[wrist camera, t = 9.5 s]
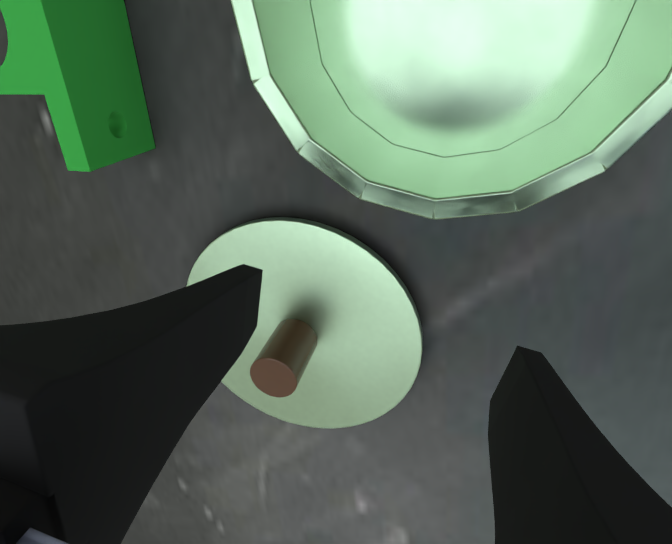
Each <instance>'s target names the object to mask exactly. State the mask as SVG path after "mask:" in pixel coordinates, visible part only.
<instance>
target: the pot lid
mask: <svg viewBox="0 0 672 544" xmlns="http://www.w3.org/2000/svg"><path fill="white" fill-rule="evenodd" d="M242 264H245V265H248V266H252V267H255V268H259V269H262V270H263V273H262V283H261V293H260V302H259V312H258V322H257V327H256V329H255V331H254V333H253V335H252V336H251V338H250V340H249V342H248V344H247V345H246V347H245V349H244V351H243V352H242V354H241V355H240V357H239V358H238V359H237V361H236V362H235V363H234V365H233V366H232V367H231V369H230V370H229V371H228V373H227V374H226V375H225V377H224V378H223V379H222V380H221V382H222V383H223V384H224V385H225V386H226V387H228V388H229V389H230V390H231V391H232V392H233V393H234V394H236V395H237V396H238V397H240V398H241V399H242V400H244V401H245V402H247V403H248V404H250V405H252V406H253V407H255V408H256V409H258V410H260V411H262V412H264V413H266V414H268V415H271V416H273V417H276V418H278V419H280V420H283V421H287V422H290V423H293V424H297V425H302V426H307V427H315V428H344V427H351V426H355V425H360V424H363V423H366V422H369V421H372V420H374V419H376V418H378V417H380V416H382V415H384V414H385V413H387V412H388V411H390V410H391V409H392V408H394V407H395V406H396V405H397V404H398V403H399V402H400V401H401V400H402V399H403V398H404V397H405V396H406V394H407V393H408V392H409V390H410V389H411V387H412V385H413V383H414V381H415V379H416V377H417V375H418V371H419V368H420V364H421V359H422V350H423V334H422V327H421V322H420V317H419V314H418V311H417V308H416V306H415V303H414V301H413V299H412V297H411V295H410V293H409V291H408V289H407V288H406V286H405V284H404V283H403V282H402V280H401V279H400V278H399V276H398V275H397V273H396V272H395V271H394V270H393V269H392V268H391V267H390V266H389V265H388V264H387V262H386V261H385V260H384V259H383V258H382V257H380V256H379V255H378V254H377V253H376V252H374V251H373V250H372V249H371V248H370V247H368V246H367V245H365V244H364V243H362V242H360V241H359V240H357V239H356V238H354V237H353V236H351V235H349V234H346V233H344V232H342V231H340V230H338V229H336V228H333V227H331V226H328V225H325V224H322V223H319V222H315V221H310V220H306V219H300V218H289V217H273V218H263V219H258V220H252V221H249V222H246V223H243V224H240V225H237V226H236V227H234V228H232V229H230V230H228V231H226V232H224V233H223V234H222V235H220V236H219V237H218V238H216V239H215V240H214V241H213V242H211V243H210V244H209V245H208V246H207V247H206V248H205V250H204V251H203V252H202V253H201V254H200V256H199V257H198V259H197V260H196V262H195V263H194V265H193V268H192V270H191V272H190V275H189V278H188V282H187V286H189V285H192V284H194V283H197V282H199V281H202V280H204V279H207V278H209V277H212V276H214V275H216V274H219V273H221V272H224V271H226V270H228V269H231V268H233V267H236V266H239V265H242ZM187 286H186V287H187Z"/></svg>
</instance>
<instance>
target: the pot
mask: <svg viewBox="0 0 672 544" xmlns="http://www.w3.org/2000/svg"><path fill="white" fill-rule="evenodd" d="M230 1H231V5H232V9H233V13H234V17H235V21H236V25H237V29H238V32H239V36H240V40H241V44H242V48H243V52H244V56H245V60H246V64H247V68H248V71H249V75H250V79H251V81H252V82H253V86H254V88H255V89H256V91H257V92H258V94H259V95H260V97H261V98H262V100H263V101H264V103H265V105H266V106H267V108H268V109H269V111H270V112H271V114H272V115H273V117H274V118H275V120H276V121H277V123H278V125H279V126H280V128H281V129H282V131H283V132H284V134H285V135H286V137H287V138H288V140H289V141H290V143H291V145H292V146H293V148H294V149H295V151H296V152H298V154H299V155H300V156H301V157H303V158H304V159H305V160H307V161H308V162H309V163H311V164H312V165H313V166H315V167H316V168H317V169H319V170H320V171H321V172H323V173H324V174H325V175H327V176H328V177H329V178H331V179H332V180H334V181H335V182H336V183H338V184H339V185H340V186H342V187H343V188H344V189H346V190H347V191H348V192H350V193H351V194H352V195H354V196H355V197H356V198H358V199H359V198H360V199H361V200H363V201H367V202H370V203H374V204H378V205H381V206H385V207H389V208H392V209H396V210H399V211H403V212H407V213H410V214H414V215H417V216H421V217H425V218H428V219H433V218H434V219H435V220H439V219H449V218H460V217H470V216H481V215H492V214H502V213H513V212H516V211H518V212H519V211H521V210H523V209H526V208H528V207H530V206H532V205H534V204H536V203H539V202H541V201H543V200H545V199H547V198H549V197H552V196H554V195H556V194H558V193H560V192H562V191H565V190H567V189H569V188H571V187H573V186H575V185H578V184H580V183H582V182H584V181H586V180H588V179H591V178H593V177H595V176H597V175H599V174H601V173H604V172H605V170H607V169H609V168H610V167H611V166H612V165H613V164H614V163H615V162H616V161H617V160H618V159H619V158H620V157H622V156H623V155H624V154H625V153H626V152H627V151H628V150H629V149H630V148H631V147H632V146H633V145H635V144H636V143H637V142H638V141H639V140H640V139H641V138H642V137H643V136H644V135H645V134H646V133H647V132H649V131H650V130H651V129H652V128H653V127H654V126H655V125H656V124H657V123H658V122H659V121H660V120H661V119H663V118H664V117H665V116H666V115H667V114H668V113H669V112H670V111H671V110H672V0H230Z"/></svg>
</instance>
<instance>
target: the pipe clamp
mask: <svg viewBox="0 0 672 544" xmlns="http://www.w3.org/2000/svg"><path fill="white" fill-rule="evenodd" d="M0 9H1V12H2V14H3V17H4V20H5V24H6V28H7V34H8V50H7V55H6V58H5V61H4V63H3V64H2V66H1V67H0V94H44V95H45V98H46V101H47V105H48V108H49V111H50V114H51V117H52V121H53V124H54V127H55V130H56V133H57V137H58V140H59V143H60V146H61V149H62V153H63V156H64V159H65V162H66V165H67V169H68V171H88V172H91V171H93V170H96V169H99V168H102V167H104V166H107V165H110V164H113V163H116V162H118V161H121V160H124V159H127V158H130V157H132V156H135V155H138V154H141V153H143V152H146V151H149V150H152V149H155V143H154V138H153V134H152V129H151V124H150V120H149V115H148V110H147V106H146V101H145V96H144V92H143V87H142V82H141V78H140V73H139V68H138V64H137V59H136V54H135V50H134V45H133V40H132V36H131V31H130V26H129V22H128V17H127V12H126V8H125V3H124V0H0Z"/></svg>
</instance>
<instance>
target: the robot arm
mask: <svg viewBox="0 0 672 544" xmlns="http://www.w3.org/2000/svg"><path fill="white" fill-rule="evenodd" d="M262 273H263V270H262V269H259V268H255V267H252V266H248V265H245V264H242V265H239V266H236V267H233V268H231V269H228V270H226V271H224V272H221V273H219V274H216V275H214V276H212V277H209V278H207V279H204V280H202V281H199V282H197V283H194V284H192V285H189V286H187V287H184V288H181V289H179V290H176V291H173V292H170V293H167V294H165V295H162V296H159V297H156V298H153V299H150V300H147V301H143V302H140V303H136V304H133V305H129V306H125V307H121V308H117V309H113V310H109V311H104V312H99V313H93V314H88V315H83V316H78V317H72V318H66V319H59V320H52V321H44V322H35V323H26V324H15V325H0V544H121V542H122V540H123V538H124V536H125V534H126V532H127V531H128V529H129V527H130V525H131V523H132V521H133V519H134V518H135V516H136V514H137V512H138V510H139V509H140V507H141V505H142V503H143V501H144V500H145V498H146V496H147V494H148V492H149V490H150V489H151V487H152V485H153V483H154V482H155V480H156V478H157V477H158V475H159V473H160V471H161V470H162V468H163V466H164V464H165V463H166V461H167V459H168V458H169V456H170V454H171V453H172V451H173V449H174V448H175V446H176V444H177V443H178V441H179V439H180V438H181V436H182V435H183V433H184V431H185V430H186V428H187V426H188V425H189V423H190V422H191V420H192V419H193V418H194V416H195V415H196V413H197V412H198V410H199V409H200V408H201V406H202V405H203V404H204V403H205V401H206V400H207V399H208V397H209V396H210V395H211V393H212V392H213V391H214V390H215V388H216V387H217V386H218V384H219V383H220V382H221V380H222V379H223V378H224V377H225V375H226V374H227V373H228V371H229V370H230V369H231V367H232V366H233V365H234V363H235V362H236V361H237V359H238V358H239V357H240V355H241V354H242V352H243V351H244V349H245V347H246V345H247V344H248V342H249V340H250V338H251V336H252V335H253V333H254V331H255V329H256V327H257V322H258V312H259V302H260V293H261V283H262ZM488 441H489V455H490V468H491V480H492V492H493V504H494V516H495V544H672V507H671V506H669V505H668V504H667V503H666V502H665V501H664V500H663V499H662V498H661V497H660V496H659V495H658V494H657V493H656V492H655V491H654V490H653V489H652V488H651V487H650V486H649V485H648V484H647V483H646V482H645V481H644V480H643V479H642V478H641V477H640V475H639V474H638V473H637V472H636V471H635V470H634V469H633V468H632V467H631V466H630V465H629V464H628V463H627V462H626V461H625V460H624V458H623V457H622V456H621V455H620V454H619V453H618V452H617V451H616V449H615V448H614V447H613V446H612V445H611V443H610V442H609V441H608V440H607V439H606V437H605V436H604V435H603V434H602V433H601V431H600V430H599V429H598V428H597V427H596V425H595V424H594V423H593V422H592V420H591V419H590V418H589V416H588V415H587V414H586V413H585V411H584V410H583V409H582V407H581V406H580V405H579V403H578V402H577V401H576V399H575V398H574V397H573V395H572V394H571V392H570V391H569V390H568V388H567V387H566V386H565V384H564V383H563V381H562V380H561V379H560V377H559V376H558V374H557V373H556V372H555V370H554V369H553V367H552V366H551V365H550V363H549V362H548V361H547V359H546V358H545V357H544V355H543V354H542V353H540V352H537V351H534V350H530V349H527V348H524V347H520V346H517V348H516V350H515V352H514V354H513V356H512V358H511V360H510V362H509V364H508V366H507V368H506V370H505V372H504V374H503V376H502V378H501V380H500V382H499V384H498V386H497V388H496V390H495V392H494V394H493V396H492V398H491V400H490V410H489V427H488Z"/></svg>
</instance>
